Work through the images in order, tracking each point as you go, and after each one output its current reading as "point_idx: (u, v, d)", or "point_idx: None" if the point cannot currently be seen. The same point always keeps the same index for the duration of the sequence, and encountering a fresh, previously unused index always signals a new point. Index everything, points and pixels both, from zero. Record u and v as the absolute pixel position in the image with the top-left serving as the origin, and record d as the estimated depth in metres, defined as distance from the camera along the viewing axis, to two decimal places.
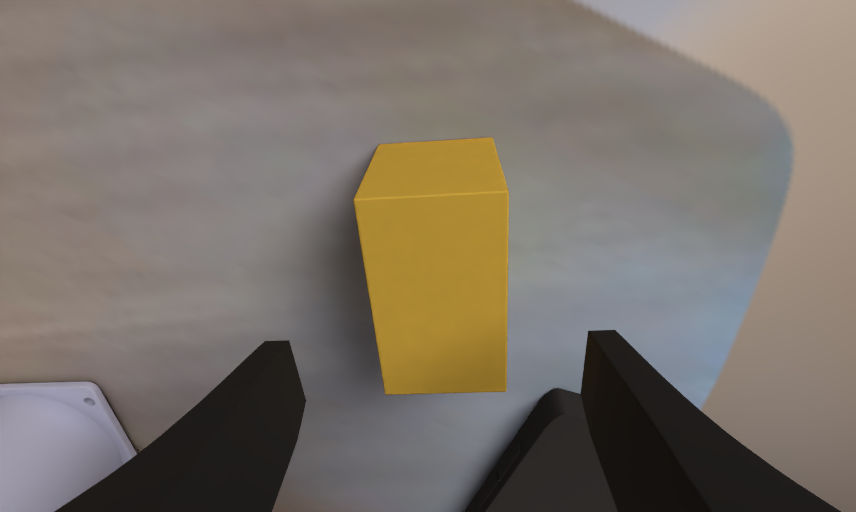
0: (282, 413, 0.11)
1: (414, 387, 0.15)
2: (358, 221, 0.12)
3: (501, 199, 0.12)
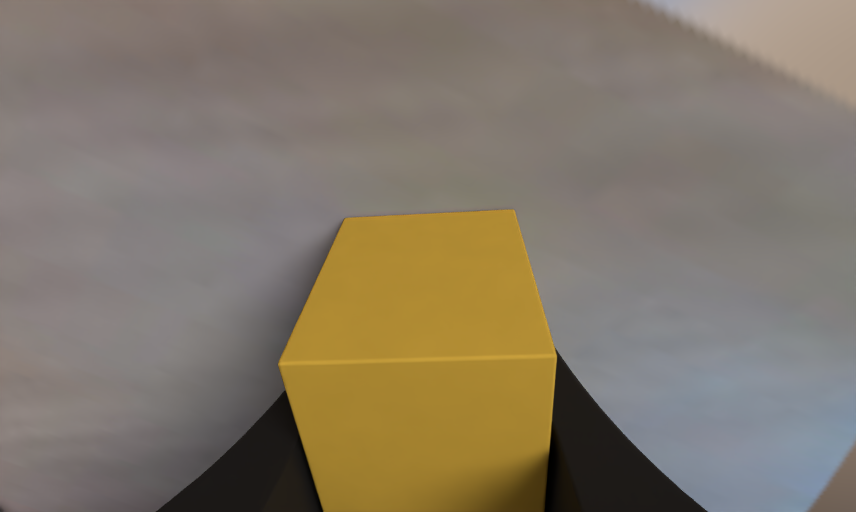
0: None
1: None
2: (289, 394, 0.07)
3: (542, 368, 0.07)
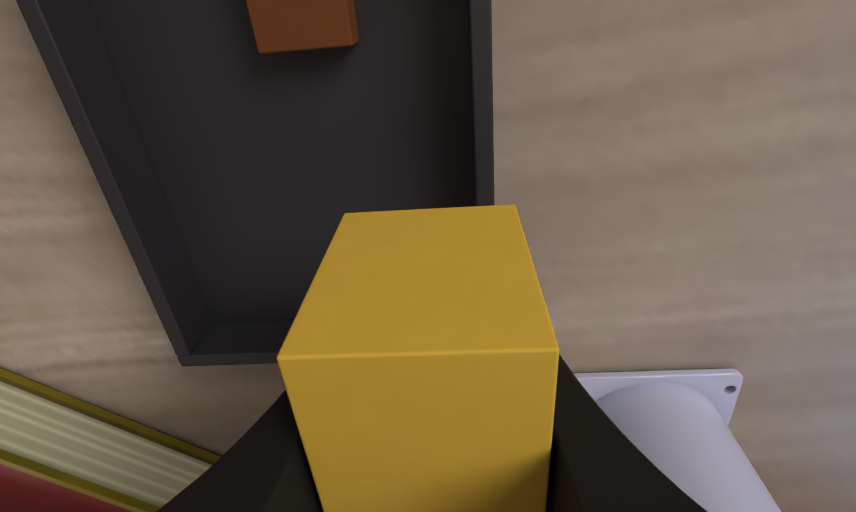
0: None
1: None
2: (288, 389, 0.07)
3: (544, 362, 0.06)
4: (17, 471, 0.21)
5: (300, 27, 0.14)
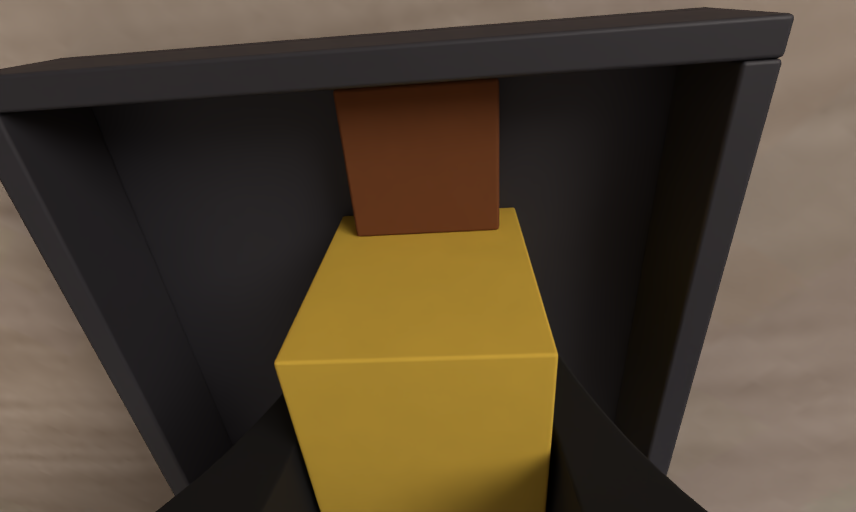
0: None
1: None
2: (286, 394, 0.07)
3: (543, 368, 0.06)
4: None
5: (424, 206, 0.09)
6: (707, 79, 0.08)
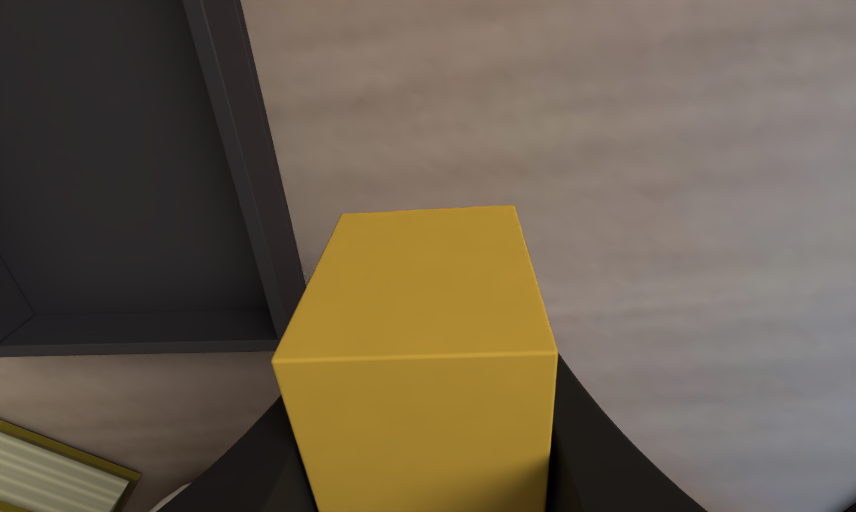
0: None
1: None
2: (283, 393, 0.07)
3: (542, 365, 0.06)
4: None
5: None
6: None
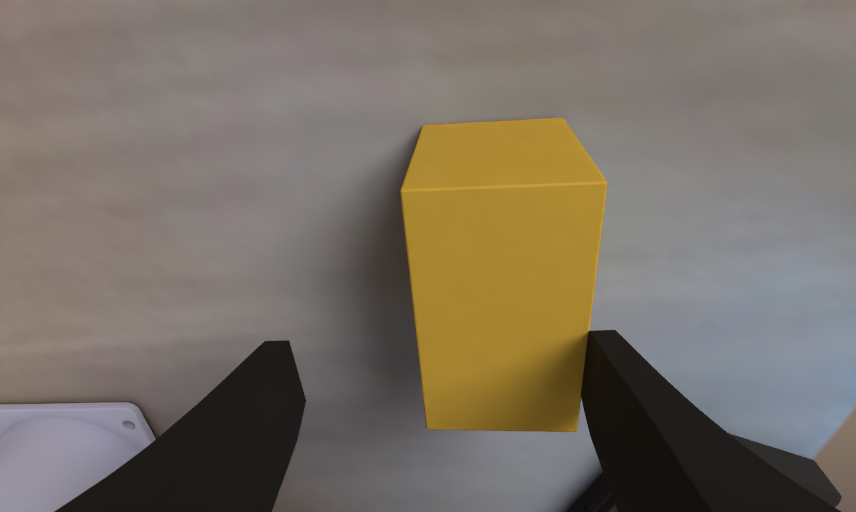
0: (282, 413, 0.11)
1: (463, 422, 0.12)
2: (405, 218, 0.10)
3: (596, 193, 0.09)
4: None
5: None
6: None
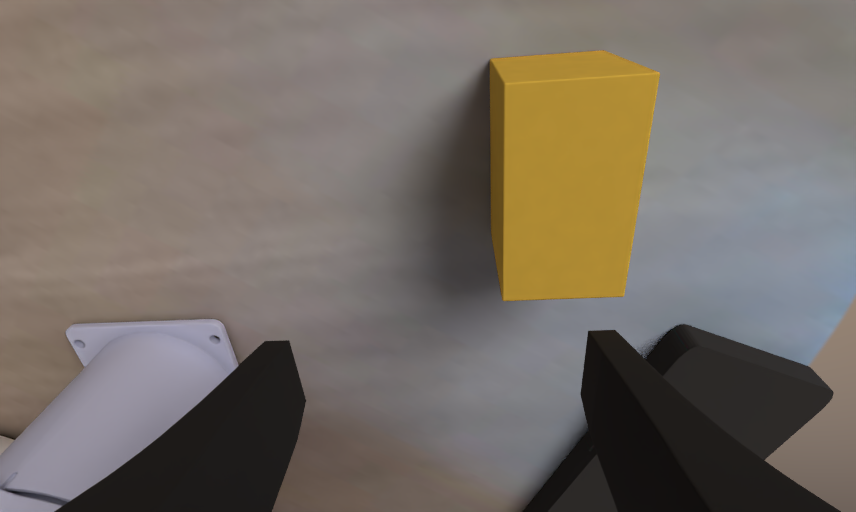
0: (283, 413, 0.11)
1: (533, 292, 0.15)
2: (505, 107, 0.13)
3: (651, 82, 0.12)
4: None
5: None
6: None
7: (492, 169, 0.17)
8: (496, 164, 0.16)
